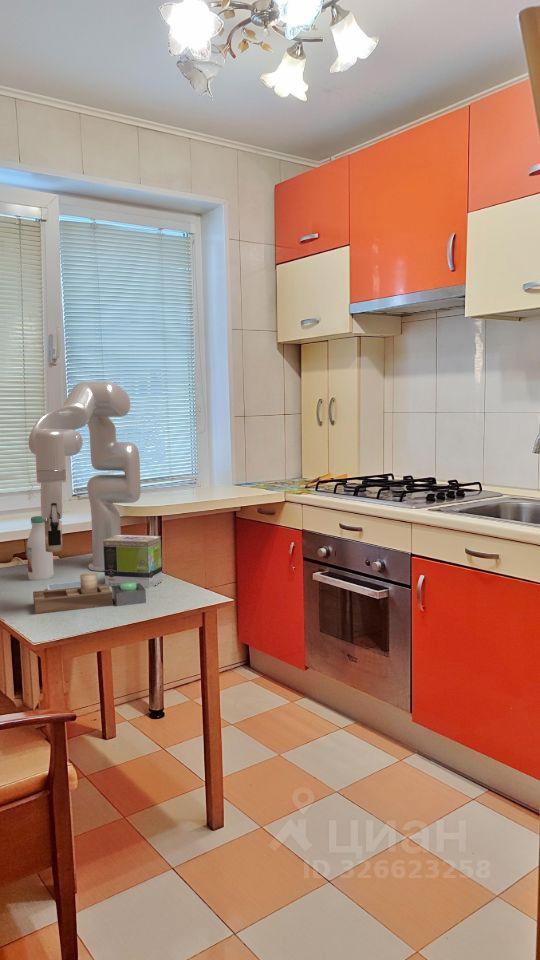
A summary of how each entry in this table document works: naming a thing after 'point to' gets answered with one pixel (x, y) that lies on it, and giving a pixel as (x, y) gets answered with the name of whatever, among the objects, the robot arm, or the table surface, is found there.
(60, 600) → the wooden dowel rack
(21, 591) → the table surface
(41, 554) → the milk bottle
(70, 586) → the shallow grey square tray
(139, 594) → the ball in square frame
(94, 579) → the seated dowel
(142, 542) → the tea box
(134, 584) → the button
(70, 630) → the table surface
